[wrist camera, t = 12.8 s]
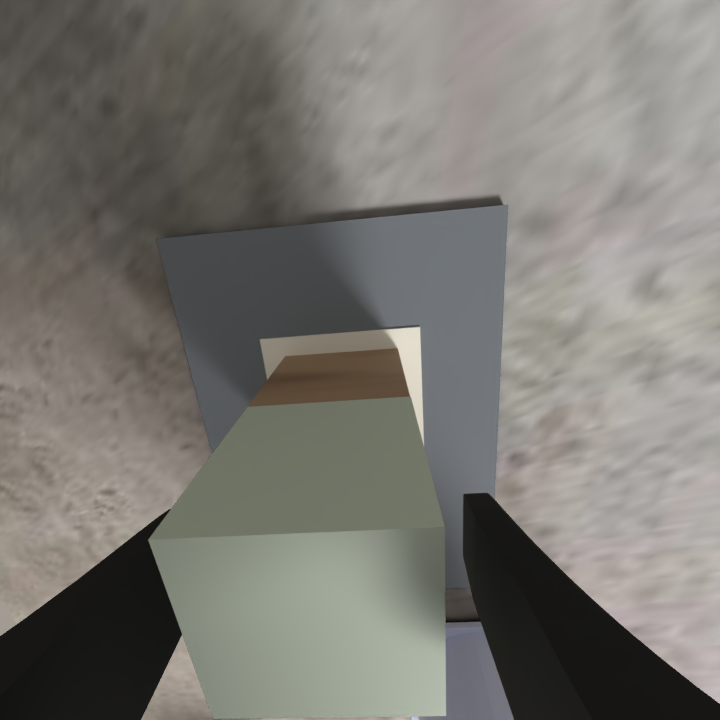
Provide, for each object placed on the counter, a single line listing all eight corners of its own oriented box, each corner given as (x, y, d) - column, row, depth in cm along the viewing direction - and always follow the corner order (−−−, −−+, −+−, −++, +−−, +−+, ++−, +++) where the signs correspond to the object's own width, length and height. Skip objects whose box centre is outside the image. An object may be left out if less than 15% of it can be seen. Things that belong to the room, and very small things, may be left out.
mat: (488, 580, 20) (491, 589, 19) (251, 589, 21) (249, 597, 20) (504, 205, 14) (508, 204, 13) (161, 238, 14) (154, 238, 14)
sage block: (416, 527, 12) (446, 716, 7) (274, 534, 12) (213, 719, 7) (410, 396, 10) (445, 527, 6) (247, 406, 11) (148, 540, 6)
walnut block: (402, 447, 17) (415, 528, 12) (300, 452, 17) (273, 534, 12) (397, 348, 15) (410, 396, 10) (285, 356, 15) (246, 407, 11)
